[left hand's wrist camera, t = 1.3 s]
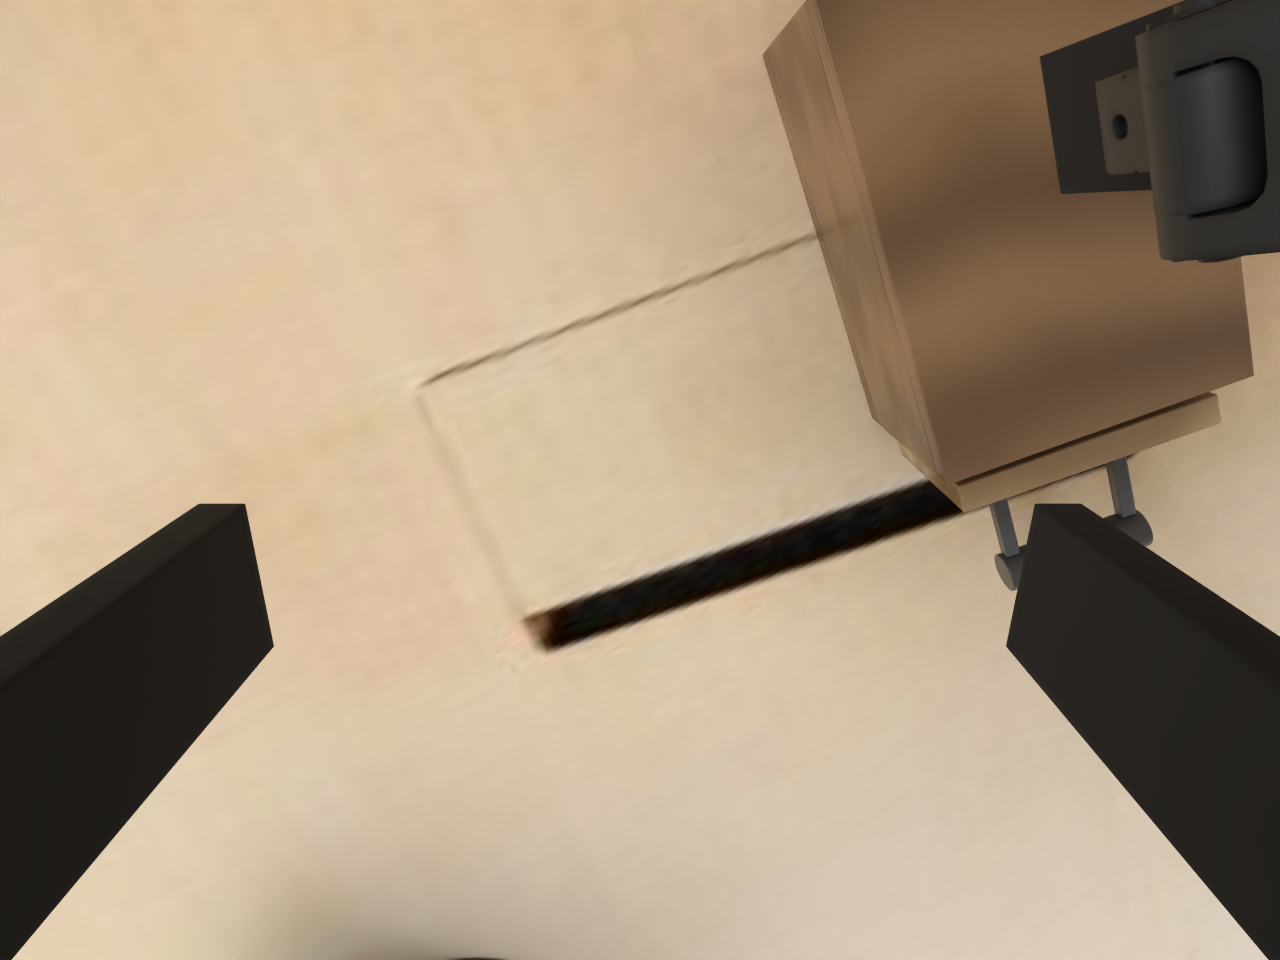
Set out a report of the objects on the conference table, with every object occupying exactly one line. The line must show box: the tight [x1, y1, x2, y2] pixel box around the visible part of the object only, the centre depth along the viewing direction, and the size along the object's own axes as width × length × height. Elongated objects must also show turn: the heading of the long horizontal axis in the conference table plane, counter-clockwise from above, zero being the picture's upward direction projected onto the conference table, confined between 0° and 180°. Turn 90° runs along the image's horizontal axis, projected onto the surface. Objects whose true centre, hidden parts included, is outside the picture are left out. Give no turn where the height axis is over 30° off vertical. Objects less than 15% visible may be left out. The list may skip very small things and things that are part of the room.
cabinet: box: [763, 0, 1254, 485], centre depth 28 cm, size 17×11×9 cm, turn 22°
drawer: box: [898, 392, 1221, 591], centre depth 30 cm, size 21×10×7 cm, turn 22°
